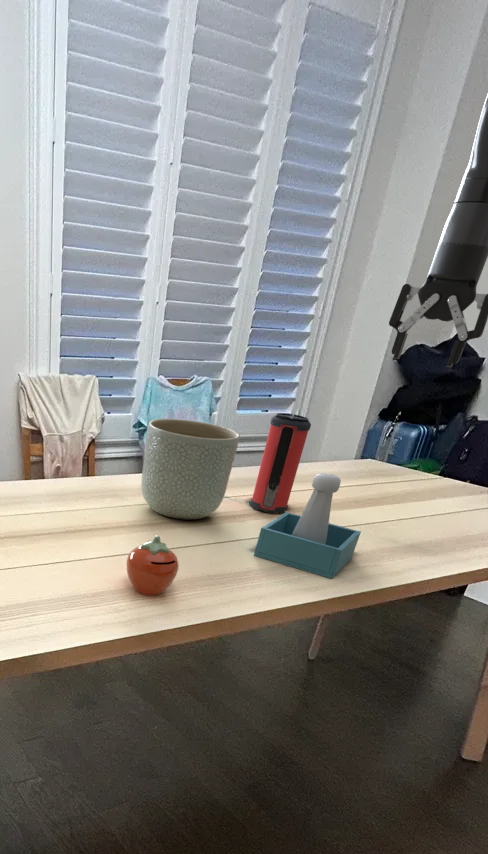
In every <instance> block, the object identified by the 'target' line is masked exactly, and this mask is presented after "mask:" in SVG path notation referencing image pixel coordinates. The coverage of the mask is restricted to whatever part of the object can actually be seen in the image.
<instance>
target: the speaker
mask: <svg viewBox="0 0 488 854" xmlns="http://www.w3.org/2000/svg"><path fill="white" fill-rule="evenodd" d="M269 422H270V426H269V431H268V434H267V439H266V443H265V445H264V446H265V447H264V450H263V455H262V458H261V463H260V466H259V471H258V473H257V478H256V481H255V486H254V490H253V494H252V497H251V499H250V501H249V505H250V506H251V507H252V508H253V509H254V510H256V511H259V512H263V513H266V514H272V515H273V514H281V515H282V514H284V513H286V511H287V510H288V506H289V505H288V503H289V500H290V497H291V493H292V489H293V487H294V482H295V479H296V476H297V472H298V468H299V465H300V462H301V458H302V454H303V450H304V447H305V443H306V442H307V441H306V440H307V437H308V434H309V431H310V430H311V426H312V424H311V422H310V421H309V418H308V417H306V416H303V415H299V414H293V413H286V412H285V413H284V412H280V413H279V412H278V413H276V415H274V416H272V417H271V419H270V421H269Z"/></svg>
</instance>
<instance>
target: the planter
mask: <svg viewBox="0 0 488 854" xmlns="http://www.w3.org/2000/svg"><path fill="white" fill-rule="evenodd" d="M145 437H146V438H145V446H144V455H143V463H142V471H141V472H142V473H141V486H140V487H141V494H142V497H143V500H144V501H145V503H146V504H147V505H148V506H149V508H151V510H153V511H154V512H156V513H157V514H159V515H161V516H165V517H168V518H172V519H178V520H188V521H189V520H192V521H193V520H200V519H203V518H206V517H207V516H210V515H211V514H213V513H214V512H215V511H216V510H217V509H218V508H219V507H220V506H221V504H222V501H223V500H224V498H225V495H226V492H227V488H228V486H229V485H228V484H229V481H230V476H231V473H232V469H233V466H234V461H235V457H236V455H237V451H238V446H239V442H240V438H241V436H240V434H239V433H238V432H237V431H235V430H233V429H230V428H228V427H225V426H221V425H219V424H218V425H217V424H213V423H209V422H203V421H197V420H189V419H181V418H180V419H178V418H157V419H152V420H150V421H149V422H148V424H147V429H146V436H145Z"/></svg>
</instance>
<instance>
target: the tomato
mask: <svg viewBox="0 0 488 854" xmlns="http://www.w3.org/2000/svg"><path fill="white" fill-rule="evenodd" d="M179 566H180V564H179V560H178V556H177V555H176V554H175V552H173V550H171V549H170V548H169V547H168V546H167V544H166V543H164V542H162V541H161V537H160V536H159V535H155V536H154V537H153V539H152V540H148V541H146V542H144V543H143V544H141V545H138V546H136V547H134V548H133V549H131V551H130V552H129V554H128V555H127V557H126V574H127V577H128V580H129V583H130V584H131V586H132V587H133V588H134V590H135V591H136V592H138V593H139V594H141V595H144V596H149V597H151V596H152V597H155V596H159V595H160V594H161V593H163V592H165V591H166V590H167V589H168V588H169V587H170V586H171V585H172V584H173V582H174V581H175V579H176V577H177V575H178V571H179V569H180V567H179Z"/></svg>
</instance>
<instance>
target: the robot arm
mask: <svg viewBox="0 0 488 854" xmlns="http://www.w3.org/2000/svg"><path fill="white" fill-rule="evenodd" d="M483 103H484V104H483V107H482V110H481V113H480V116H479V121H478V124H477V129H476V133H475V136H474V141H473V144H472V149H471V153H470V158H469V160H468V163H467V166H466V169H465V171H464V173H463V177H462V179H461V182H460V185H459V188H458V190H457V194H456V197H455V200H454V202H453V205H452V208H451V210H450V212H449V214H448V217H447V219H446V221H445V223H444V226H443V229H442V232H441V235H440V238H439V241H438V244H437V247H436V250H435V253H434V256H433V259H432V261H431V265H430V267H429V271H428V273H427V275H426V279H425V281H424V283H423V284H422V285H421V286H414V285H411V284H409V283H405V284H403V285H402V287H401V289H400V292H399V294H398V297H397V300H396V303H395V305H394V307H393V310H392V313H391V316H390V318H389V321H388V325H389V326H390V327H391V328H393V329H394V330H396V336H395V339H394V342H393V345H392V348H391V355H393V358H392V359H394V360H400V358H401V355H402V353H403V350H404V346H405V343H406V341H407V338H408V335H409V334H408V331H409V330H411V328H413V327H414V326H415V325H417V323H418V322H420V320H422V319H423V318H425V319H426V320H432V321H433V320H434V321H435V320H439V321H442V322H451V321H453V324H454V327H455V330H456V333H457V337H458V338H457V340H455V342H454V344H453V346H452V347H453V348H452V349H451V352H450V355H449V358H448V360H447V362H446V366H445V367H446V368H452V367H453V366H454V365H456V364H457V363H458V362H460V359H461V357H462V354H463V351H464V349H465V346H466V344H467V342H469V341H471V340H474V339H479V338H481V337H482V336H483V333H484V332H485V327H486V324H487V322H488V293H477V286H478V283H479V280H480V278H481V275H482V273H483V270H484V267H485V265H486V262H487V259H488V94H487V95H486V97H485V99H484V102H483ZM415 296H417V297H418V300H419V304H420V306H419V307H418V308H417V309H416V310H415V311H414V312H413V313H412V314H410V315H409V316H408V318H406V319H405V321H402V317H403V314H404V311H405V309H406V306H407V304H408V302H411V301H413V300H414V298H415ZM474 302H476V309H477V310H479V313H478V317H477V319H476V323H475V325H474V329H472V330H469V329H468V326H467V322H466V317H465V315H464V311H465V310H466V309H467V308H468V307H469V306H471V305H472V304H473V303H474Z"/></svg>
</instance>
